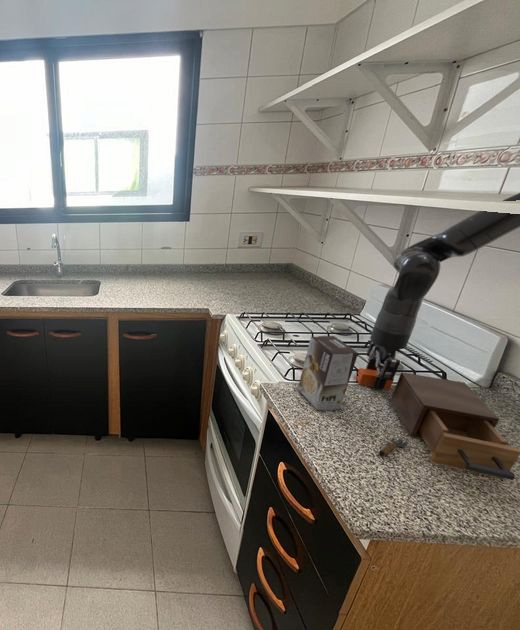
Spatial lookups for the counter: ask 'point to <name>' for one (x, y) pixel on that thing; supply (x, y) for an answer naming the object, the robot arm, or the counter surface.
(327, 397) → the coffee box
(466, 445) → the drawer
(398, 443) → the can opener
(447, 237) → the robot arm
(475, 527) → the counter surface
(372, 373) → the orange block
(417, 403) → the cabinet
